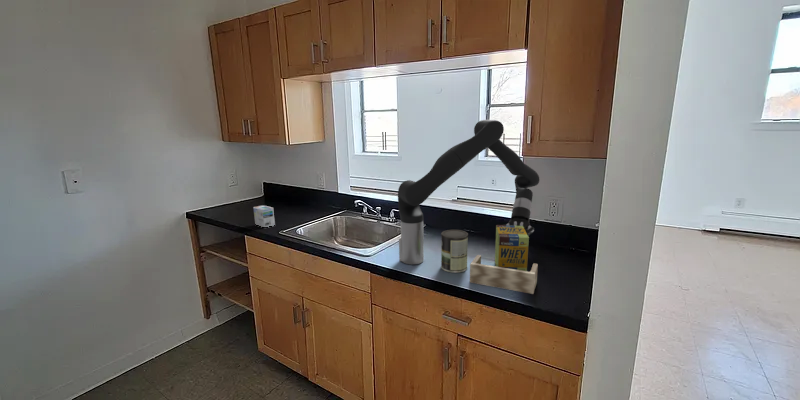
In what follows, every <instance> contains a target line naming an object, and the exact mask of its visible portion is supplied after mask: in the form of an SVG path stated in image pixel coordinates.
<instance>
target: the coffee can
mask: <svg viewBox="0 0 800 400" xmlns="http://www.w3.org/2000/svg"><path fill="white" fill-rule="evenodd" d="M440 236H441V239H440V240H441V242H440V243H441V250H440V251H441V252H440V253H441V255H440V256H441V261H440V262H441V264H440V268H441V270H442V271H445V272H447V273H451V274H452V273H453V274H455V273H456V274H457V273H462V272H465V271H467V270H468V247H469V246H468V242H469V241H468V238H469V233H468V232H467V231H465V230H463V229H447V230H446V229H445V230H443V231H442V232H441V233H440Z"/></svg>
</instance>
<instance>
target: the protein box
mask: <svg viewBox="0 0 800 400" xmlns="http://www.w3.org/2000/svg"><path fill="white" fill-rule="evenodd" d="M526 231H527V230H525V229H524V227H523V226H510V225H503V224H496V225H495V245H494V246H495V248H494V264H495V266H496V267H503V268H509V269H515V270H522V271H528V257H529V243H530V241H529V240H530V237H529V236H528V235H527V233H526Z"/></svg>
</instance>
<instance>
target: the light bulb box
mask: <svg viewBox="0 0 800 400" xmlns="http://www.w3.org/2000/svg"><path fill="white" fill-rule="evenodd" d="M252 208H253V215H254V223H255V224H256V225H259V226H261V227H260V228H262V227H268V228H270V227H269V226H272V227H275V226H276V221H275V220H276V219H275V215H274V214H275V213H274V207H271V206H267V205H265V204H264V205H263V204H262V205H258V206H253V207H252ZM255 224H254V225H255ZM256 225H255V226H256ZM274 225H275V226H274ZM259 226H258V227H259Z"/></svg>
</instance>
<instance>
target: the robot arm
mask: <svg viewBox="0 0 800 400" xmlns="http://www.w3.org/2000/svg"><path fill="white" fill-rule="evenodd" d="M504 129H505V128H504V125H503V123H502V122H501V121H499V120H496V119H482V120H479V121H477V123H475V125H474V128H473V136H472V137H470V138H468V139H467V140H464V141H462V142H460V143H458V144H456V145H453V146H452V147H450V148H448V149H447V150H446V151H445V152H444V153H442V154H441V155H440V156H439V157H438V158H437V159H436V161H435V162H434V164H433V166H432V167H431V169H430V170H429V172H427V173H426V174H425V175H424V176H423V177H421V178H419V179H418V180H417V181H414V180H410V179H409V180H404V181H402V183H400V184H399V186H398V189H397V204H398V213H399V216H400V217H399V218H400V238H399V239H398V250H399V251H398V252H399V253H398V255H399V257H398V258H399V259H398V260H399V262H401V263H404V264H406V265H418V264H422V263H423V262H425V261H424V258H425V257H424V256H425V255H424V253H425V251H424V250H425V249H424V213H423V212H422V209H421V207H420V205H421V204H423V203H425V201H426V200H428V198H429V197H430V196H431V195H432V194H433V193H434V192H435V191H436V190H437V189H438V188H439V187H440V186H441V185H443V184H444V183H446V181H448V180H449V179H450V178H451V177H453V176H454V175H456V173H458V172H459V171H460V170H462V168H464V167H465V166H467V164H468V163H470V162H471V161H472V160H473V159H475V158H476V157H477V156H479V154H481V152H483V151H485V150H486V149H488V150H490V151H491V152H492V153H493V154H494V155H495V156H496V157H497V159H498V160H499V161H500V162H501V163H502V164H503V165H504V166H505V168H506V169H507V170H508V171H509V172H510V173H511V174H512V176H515V178H514V185H515V198H514V203H513V206H512V210H511V216H510V220H509V221H508V223H504V224H502V225H510V226H523V227H524V229H525V231H526V233H527V235H528V237H529V236H530V235H532V234H533V233H534V232H535V227H534V226H531V224H530V218H531V213H532V202H533V196H534V194H533V191H532V190H531V189H530V188H532V187H535V186H537V185H539V183H540V176H539V174H538V172H537V171H536V170H535V169H533V168H532V167H531V166H529V165H527V164H526V163H524V161H523V159H521V157H520V156H519V154H518V153H516V152H515V151H514V150H513V149H512V148H510V147H509V146H507V145H506V144H505V143H504V142H503V141H502V140H501V138H502V137H503V134H504Z"/></svg>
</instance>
